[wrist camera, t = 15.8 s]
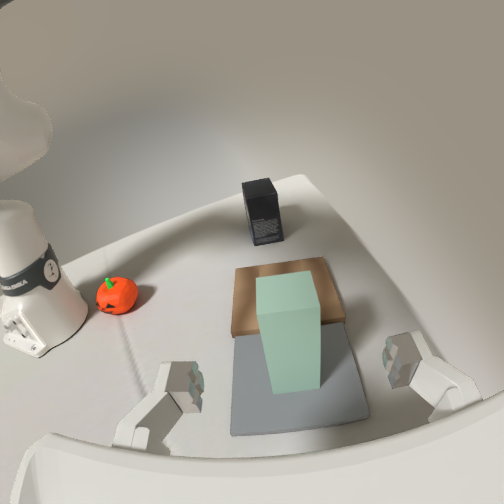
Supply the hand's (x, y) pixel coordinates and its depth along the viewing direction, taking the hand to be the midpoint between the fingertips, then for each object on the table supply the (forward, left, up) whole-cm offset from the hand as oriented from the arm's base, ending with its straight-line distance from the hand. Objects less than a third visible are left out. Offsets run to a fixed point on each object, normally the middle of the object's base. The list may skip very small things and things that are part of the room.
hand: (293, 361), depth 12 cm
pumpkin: (-28, +29, -19) cm, 44 cm away
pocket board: (0, +27, -18) cm, 33 cm away
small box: (-2, +49, -19) cm, 52 cm away
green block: (0, +12, -18) cm, 21 cm away
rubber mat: (0, +12, -18) cm, 22 cm away
